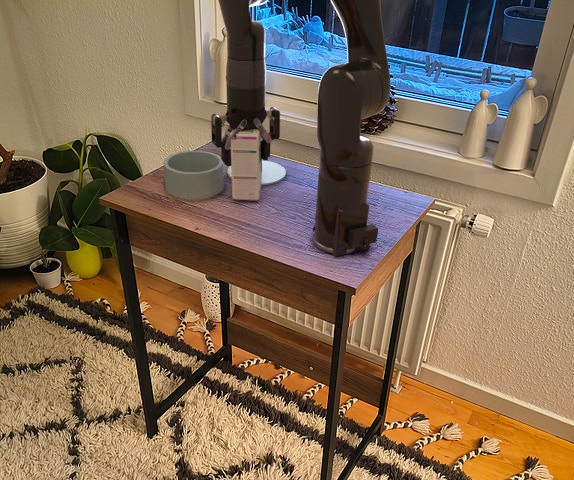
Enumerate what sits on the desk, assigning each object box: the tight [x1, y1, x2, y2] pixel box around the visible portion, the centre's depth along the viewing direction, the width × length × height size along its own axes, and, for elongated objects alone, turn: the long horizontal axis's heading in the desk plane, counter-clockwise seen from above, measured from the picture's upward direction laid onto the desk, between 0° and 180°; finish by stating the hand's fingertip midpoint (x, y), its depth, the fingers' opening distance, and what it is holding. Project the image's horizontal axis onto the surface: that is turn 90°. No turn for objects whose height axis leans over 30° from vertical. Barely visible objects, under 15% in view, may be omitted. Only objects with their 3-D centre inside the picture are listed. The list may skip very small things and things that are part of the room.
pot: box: [163, 150, 225, 200], centre depth 127 cm, size 13×13×6 cm
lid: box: [227, 158, 287, 187], centre depth 134 cm, size 14×14×6 cm
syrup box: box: [230, 129, 262, 201], centre depth 119 cm, size 6×6×14 cm
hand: (246, 162), depth 119 cm, fingers closed on syrup box, 7 cm apart
